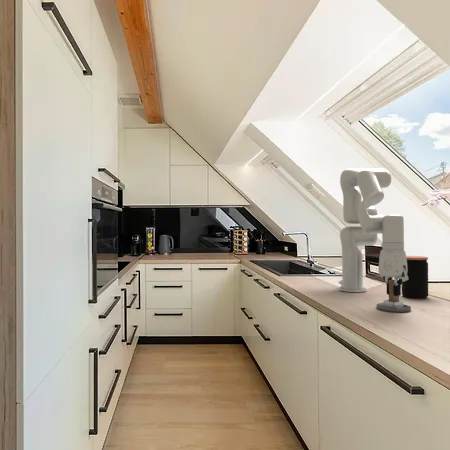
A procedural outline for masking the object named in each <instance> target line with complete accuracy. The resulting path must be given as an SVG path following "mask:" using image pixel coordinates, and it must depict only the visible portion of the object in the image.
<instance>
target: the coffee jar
mask: <svg viewBox="0 0 450 450" xmlns="http://www.w3.org/2000/svg"><path fill="white" fill-rule="evenodd" d="M406 258H407V276H408V280H406V281H404V282H403V283H402V285H401V295H402V297H404V298H406V299H413V300H414V299H415V300H424V299H427V298H428V297H429V262H428V260H429V257H428V256H422V255H421V256H420V255H406Z"/></svg>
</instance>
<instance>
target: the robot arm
mask: <svg viewBox="0 0 450 450" xmlns="http://www.w3.org/2000/svg"><path fill="white" fill-rule="evenodd" d="M391 183H392V175H391V172H390V171H389V170H387V169H385V168H359V167H358V168H348V169H344V170H343V171H342V172H341V174H340V177H339V184H340V189H341V192H342V197H343V199H342V200H343V204H342V205H343V206H342V209H343V211H342V212H343V213H342V215H343V221H344V222H345V223H346V224H349V225H351V224H352V225H353V224H355V225H360V226H346V227H343V228H342V229H341V230H340V233H339V239H340V244H341V260H342V261H341V262H342V263H341V264H342V268H341V270H342V274H341V276H342V278H341V280H339V281H338V284H339V285H341V286H339V287H338V289H339V291H341V292H346V293H363V292H366V291H367V288H366V287H363V285H364V284H363V282H364V280H363V279H364V278H363V275H364V273H363V270H364V269H363V261H364V260H363V253H362V251H361V250H360V249H359V247H361V246H362V247H363V246H364V247H365V246H370V247H371V246H373V245H375V244H376V243H377V242H378V234H382V235H381V238H382V243H381V244H380V245H381V248H382V249H381V250H380V253H379V259H378V274H379V277H381V278H382V279H383V281H384V283H385V285H386V295H388V296H389V280H394V284H395V285H393V295H394V296H399V297H400V296H401V295H402V283H403V282H404V281H406V280H408V276H407V258H406V256H407V255H406V251H405V236H404V235H405V234H404V233H405V230H404V229H405V222H404V216H403V215H402V214H378V210H377V209H376V207H375V206H376V205H378V204H379V203H381V202H382V201H383V200H384V198H385V193H384V191H383V189H384V188H385V189H386V188H388V187H389V186H390V185H391ZM358 188H359V189H358ZM362 199H363V200H362Z"/></svg>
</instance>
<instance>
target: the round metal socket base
mask: <svg viewBox="0 0 450 450" xmlns="http://www.w3.org/2000/svg"><path fill="white" fill-rule="evenodd" d="M376 309H377V310H378V311H382V312H387V313H395V314H407V313H410V312H412V307H411V306H410V305H408V304H404V301H402V300H399V302H391V301H389V299H383V302H378V303H377V304H376Z"/></svg>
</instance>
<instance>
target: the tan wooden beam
mask: <svg viewBox="0 0 450 450" xmlns="http://www.w3.org/2000/svg"><path fill="white" fill-rule="evenodd" d="M393 285H395V284H394V279H393V280H389V295H388V300H389V301H391V302H399V301H400V296H394V295H393Z"/></svg>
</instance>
